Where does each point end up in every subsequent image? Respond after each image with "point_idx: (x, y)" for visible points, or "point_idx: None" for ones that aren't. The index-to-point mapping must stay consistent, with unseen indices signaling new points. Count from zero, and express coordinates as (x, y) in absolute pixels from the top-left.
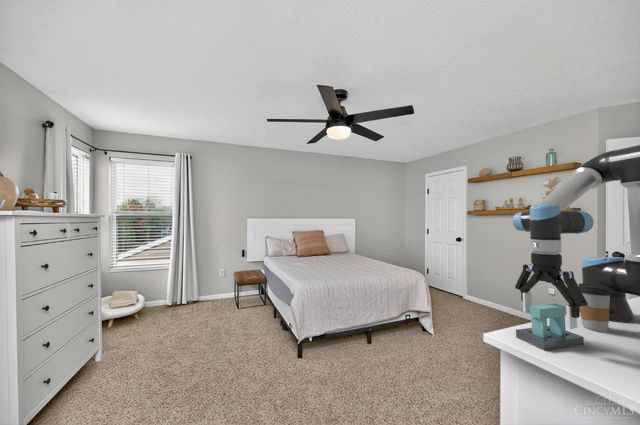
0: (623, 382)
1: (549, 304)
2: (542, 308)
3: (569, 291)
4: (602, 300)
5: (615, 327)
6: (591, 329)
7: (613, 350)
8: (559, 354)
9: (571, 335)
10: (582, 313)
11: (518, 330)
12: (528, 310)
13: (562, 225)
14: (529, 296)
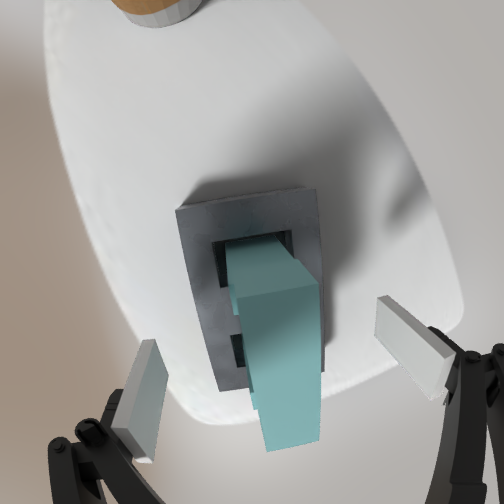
0: (449, 290)
1: (250, 355)
2: (313, 427)
3: (481, 428)
4: None
5: None
6: (175, 21)
7: (348, 123)
8: (342, 330)
9: (296, 229)
10: (132, 2)
11: (227, 389)
12: (161, 364)
13: None
14: (139, 418)
